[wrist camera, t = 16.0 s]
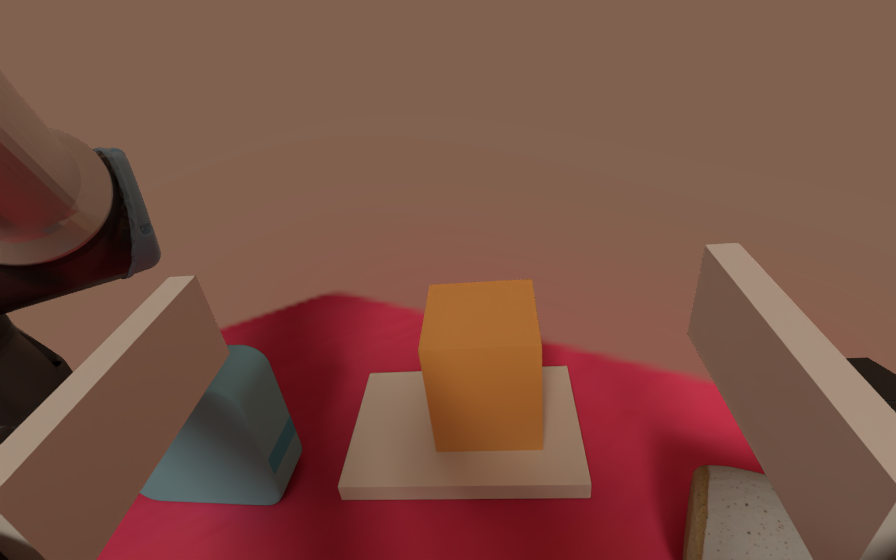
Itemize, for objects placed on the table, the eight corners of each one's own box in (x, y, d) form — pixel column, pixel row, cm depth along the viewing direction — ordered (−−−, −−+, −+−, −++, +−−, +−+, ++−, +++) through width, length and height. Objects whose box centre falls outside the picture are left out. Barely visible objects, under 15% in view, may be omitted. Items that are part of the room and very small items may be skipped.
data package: (308, 457, 40) (263, 343, 34) (286, 508, 36) (231, 389, 30) (176, 453, 42) (110, 344, 36) (142, 501, 38) (63, 388, 32)
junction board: (342, 500, 36) (315, 425, 32) (373, 385, 47) (355, 317, 42) (590, 497, 34) (596, 418, 30) (566, 378, 45) (568, 306, 40)
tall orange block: (436, 452, 37) (418, 350, 32) (443, 378, 44) (429, 284, 39) (542, 449, 36) (541, 345, 31) (533, 375, 43) (531, 278, 38)
